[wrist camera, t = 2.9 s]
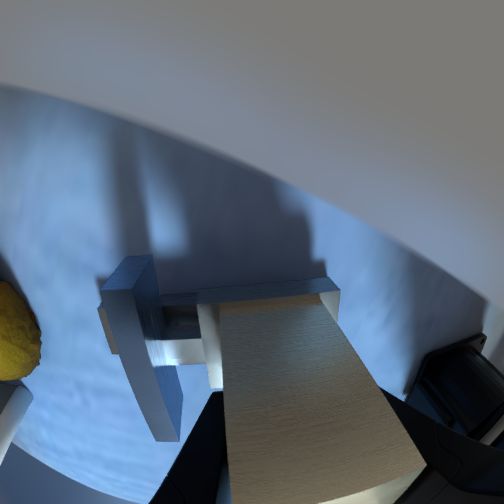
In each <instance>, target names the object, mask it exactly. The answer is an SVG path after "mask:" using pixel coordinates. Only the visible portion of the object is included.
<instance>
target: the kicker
mask: <svg viewBox="0 0 504 504" xmlns="http://www.w3.org/2000/svg"><path fill="white" fill-rule="evenodd" d="M100 294H101V298H102V302H103V305H104V309H105V312H106V316H107V319H108V323H109V326H110V329H111V332H112V335H113V338H114V341H115V344H116V347H117V350H118V353H119V356H120V359H121V362H122V364H123V367H124V370H125V372H126V375H127V378H128V380H129V383H130V385H131V388H132V390H133V392H134V395H135V397H136V400H137V402H138V404H139V406H140V409H141V411H142V413H143V415H144V418H145V420H146V422H147V424H148V426H149V428H150V430H151V432H152V434H153V436H154V438H155V440H156V441H160V442H180V428H181V415H182V403H183V393H182V390H181V386H180V382H179V379H178V375H177V371H176V367H175V365H190V364H206V366H207V371H208V377H209V382H210V387H211V389H215V388H223V395H224V412H225V427H226V441H227V454H228V466H229V477H230V488H231V499H232V504H393V503H394V502H395V501H396V500H397V499H398V498H399V497H400V496H401V495H402V494H403V492H404V491H405V490H406V489H407V488H408V487H409V486H410V485H411V483H412V482H413V481H414V480H415V479H416V478H417V476H418V475H419V474H420V473H421V472H422V470H423V469H424V468H425V467H426V465H427V464H426V463H425V461H424V459H423V458H422V456H421V454H420V453H419V451H418V449H417V448H416V446H415V444H414V443H413V441H412V439H411V438H410V436H409V434H408V433H407V431H406V430H405V428H404V426H403V425H402V423H401V422H400V420H399V418H398V417H397V415H396V414H395V412H394V410H393V409H392V407H391V406H390V404H389V402H388V401H387V399H386V398H385V396H384V395H383V393H382V391H381V390H380V388H379V387H378V385H377V384H376V382H375V380H374V379H373V377H372V376H371V374H370V373H369V371H368V370H367V368H366V367H365V365H364V364H363V362H362V360H361V359H360V357H359V356H358V354H357V353H356V351H355V350H354V348H353V347H352V345H351V344H350V342H349V341H348V339H347V338H346V336H345V335H344V333H343V332H342V330H341V329H340V327H339V326H338V324H337V320H338V311H339V301H340V289H339V288H338V287H337V286H336V285H335V283H334V282H333V281H332V280H331V279H330V278H329V277H325V278H316V279H306V280H296V281H286V282H275V283H265V284H253V285H242V286H230V287H217V288H204V289H198V297H197V311H198V317H199V324H189V325H170V326H166V325H165V321H164V316H163V311H162V306H161V301H160V296H159V291H158V285H157V280H156V274H155V268H154V262H153V256H152V255H140V256H128V257H126V258H125V259H124V260H123V261H122V263H121V264H120V265H119V266H118V268H117V269H116V270H115V271H114V273H113V274H112V275H111V276H110V278H109V279H108V280H107V281H106V283H105V284H104V285H103V287H102V288H101V289H100Z"/></svg>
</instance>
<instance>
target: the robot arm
mask: <svg viewBox="0 0 504 504" xmlns="http://www.w3.org/2000/svg"><path fill="white" fill-rule="evenodd" d="M486 339H487V336H486V335H485V334H483V333H481V334H478V335H476V336H474V337H471V338H469V339H466V340H464V341H461V342H458V343H456V344H453V345H450V346H448V347H445V348H442V349H439V350H436V351H434V352H431V353H429V354H428V355H426V357H425V358H424V360H423V362H422V365H421V368H420V371H419V373H418V376H417V379H416V381H415V384H414V386H413V389H412V391H411V394H410V396H409V398H408V401H407V403H405V402H403V401H402V400H400V399H398V398H397V397H395V396H393V395H392V394H390V393H389V392H387V391H385V390H384V389H382V388H380V387H379V386H378V387H379V388H380V390H381V391H382V393H383V395H384V396H385V398H386V399H387V401H388V402H389V404H390V406H391V407H392V409H393V410H394V412H395V414H396V415H397V417H398V418H399V420H400V422H401V423H402V425H403V426H404V428H405V430H406V431H407V433H408V434H409V436H410V438H411V439H412V441H413V443H414V444H415V446H416V448H417V449H418V451H419V453H420V454H421V456H422V458H423V459H424V461H425V463H426V464H427V465H426V467H425V468H424V469H423V470H422V472H421V473H420V474H419V475H418V476H417V478H416V479H415V480H414V481H413V482H412V483H411V485H410V486H409V487H408V488H407V489H406V490H405V491H404V492H403V494H402V495H401V496H400V497H399V498H398V499H397V500H396V501H395V502H394V503H393V504H504V375H503V374H502V373H501V372H500V371H499V370H498V369H497V368H496V367H495V366H494V365H493V364H491V363H490V362H489V361H488V360H487V359H486V358H485V357H484V356H483V355H482V354H481V351H482V349H483V347H484V344H485V342H486ZM167 475H168V476H166V477H165V479H164V480H163V482H162V484H161V486H160V487H159V489H158V490H157V492H156V493H155V495H154V497H153V498H152V500H151V501H150V502H149V503H148V504H232V499H231V488H230V477H229V466H228V454H227V441H226V427H225V412H224V395H223V391H216V392H213V393H212V394H211V396H210V397H209V399H208V401H207V403H206V405H205V407H204V409H203V411H202V412H201V414H200V416H199V418H198V420H197V422H196V423H195V425H194V427H193V429H192V431H191V433H190V434H189V436H188V438H187V440H186V442H185V443H184V445H183V447H182V449H181V451H180V452H179V454H178V456H177V458H176V459H175V461H174V463H173V465H172V467H171V468H170V470H169V472H168V474H167Z"/></svg>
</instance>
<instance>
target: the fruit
mask: <svg viewBox="0 0 504 504" xmlns="http://www.w3.org/2000/svg"><path fill="white" fill-rule="evenodd" d="M40 337H41V332H40V330H39V329H38V328H37V326H36V324H35V317H34V314H33V312H31V311H30V310H29V309H28V308H27V307H26V304H25V301H24V300H23V299H22V298H21V297H20V296H19V294H18V293H17V292H16V291H15V290H14V289H13V287H12V285H11V284H10V283H7V282H4V281H2V282H0V380H2V381H7V380H17V379H22V378H23V377H26V376H28V375H30V373H31V372H32V371H33V370H34V369H35V367H36V366H38V365H40V363H39V359H41V354H40V349H41V344H42V342H41V340H40Z"/></svg>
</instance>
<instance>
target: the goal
mask: <svg viewBox="0 0 504 504" xmlns="http://www.w3.org/2000/svg"><path fill="white" fill-rule="evenodd" d="M32 400H33V396H32V394H31V393H30V391H29V390H28V389H26V388H25V387H23V386H18V387H16V386H11V385H7V384H3V383H0V465H1V462H2V460H3V458H4V456H5V454H6V451H7V449H8V447H9V445H10V443H11V441H12V439H13V436H14V434H15V432H16V430H17V428H18V426H19V424H20V423H21V421H22V419H23V417H24V415H25V413H26V411H27V409H28V407H29V406H30V404H31V402H32Z"/></svg>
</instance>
